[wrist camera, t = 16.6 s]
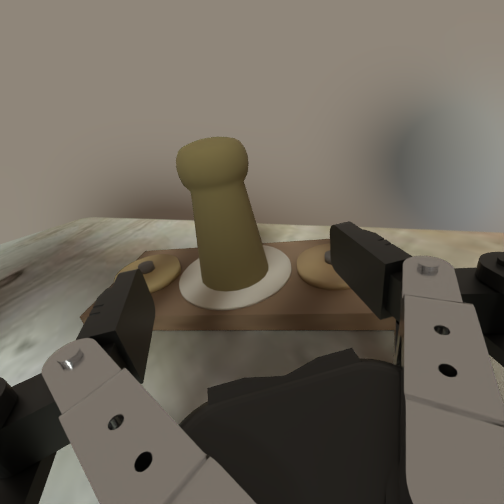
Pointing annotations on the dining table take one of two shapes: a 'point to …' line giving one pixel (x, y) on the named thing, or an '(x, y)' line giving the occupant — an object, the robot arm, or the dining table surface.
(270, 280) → the board
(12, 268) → the dining table surface
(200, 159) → the cork
